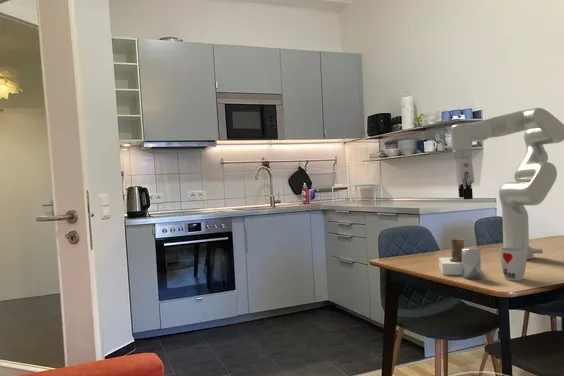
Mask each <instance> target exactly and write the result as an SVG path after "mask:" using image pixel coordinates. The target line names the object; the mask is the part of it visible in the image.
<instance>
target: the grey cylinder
mask: <svg viewBox="0 0 564 376" xmlns="http://www.w3.org/2000/svg"><path fill="white" fill-rule="evenodd" d="M481 254H482V253H481V248H478V247H464V248H462V275H461V276H462V279H465V280H471V281H474V280H475V281H476V280H477V281H478V280H481V279H482V257H481V256H482V255H481Z"/></svg>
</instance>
